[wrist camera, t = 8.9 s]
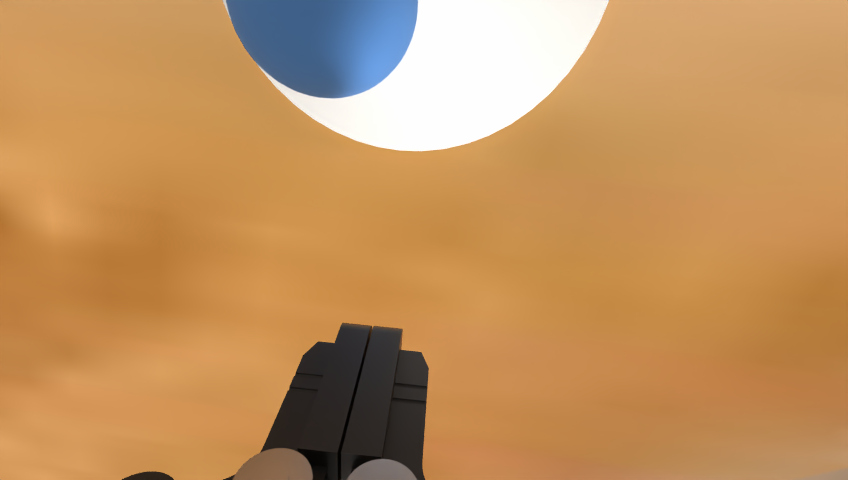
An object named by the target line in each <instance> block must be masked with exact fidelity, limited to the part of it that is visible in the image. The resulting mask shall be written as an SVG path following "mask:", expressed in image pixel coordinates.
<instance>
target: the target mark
mask: <svg viewBox="0 0 848 480" xmlns="http://www.w3.org/2000/svg"><path fill="white" fill-rule="evenodd" d="M608 1H609V0H418V13H417V21H416V26H415V30H414V34H413V37H412V40H411V42H410V45H409V47H408V49H407V51H406V53H405V55H404V57H403V58H402V60H401V62H400V63H399V64H398V66H397V67H396V68H395V69H394V70H393V71H392V72H391V73H390V75H389V76H388V77H386V78H385V79H384V80H383V81H382V82H380V83H379V84H378V85H376V86H375V87H373V88H371V89H369V90H367V91H365V92H362V93H360V94H357V95H353V96H349V97H344V98H334V99H332V98H318V97H313V96H309V95H305V94H302V93H299V92H297V91H294V90H292V89H290V88H288V87H286V86H285V85H283V84H281V83H279V82H278V81H277V80H275V79H274V78H272V77H271V76H270V75H269V74H267V73H266V72H265V71H264V70H263V69H262V68H261V67H260V66H259V65H258V64H257V65H258V66H259V67H260V69H261V70H262V71H263V72H264V73H265V75H266V76H267V77H268V78H269V79H270V81H271V82H272V83H273V84H274V85H275V87H277V88H278V89H279V90H280V91H281V92H282V93H283V94H284V95H285V96H286V97H287V98H288V99H289V100H290V101H291V102H292V103H293V104H294V105H296V106H297V107H298V108H300V109H301V110H302V111H304V112H305V113H306V114H308V115H309V116H310V117H311V118H313V119H314V120H316V121H318V122H319V123H321V124H323V125H325V126H326V127H328V128H330V129H331V130H333V131H335V132H337V133H340V134H342V135H344V136H347V137H349V138H351V139H353V140H356V141H359V142H363V143H366V144H370V145H373V146H376V147H382V148H388V149H394V150H405V151H427V150H438V149H446V148H450V147H455V146H459V145H463V144H467V143H470V142H473V141H475V140H478V139H481V138H484V137H486V136H489V135H491V134H493V133H495V132H497V131H498V130H500V129H502V128H504V127H506V126H508V125H510V124H512V123H513V122H514V121H516V120H517V119H519V118H520V117H522V116H523V115H525V114H526V113H528V112H529V111H530V110H532V109H533V108H534V107H535V106H536V105H537V104H538V103H540V102H541V101H542V100H543V99H544V98H545V97H546V96H548V95H549V94H550V93H551V92H552V91H553V89H554V88H555V87H556V86H557V85H558V84H559V83H560V82H561V81H562V79H563V78H564V77H565V76H566V75H567V74H568V73H569V71H570V70H571V68H572V67H573V66H574V64H575V63H576V61H577V60H578V59H579V57H580V56H581V54H582V53H583V52H584V50H585V48H586V47H587V45H588V43H589V41H590V39H591V38H592V36H593V34H594V32H595V30H596V29H597V27H598V25H599V23H600V20H601V18H602V16H603V13H604V11H605V9H606V6H607V4H608ZM223 2H224V5H225V7H226V10H227V12H228V7H227V3H226V0H223ZM228 15H229V12H228ZM229 17H230V15H229ZM230 19H231V18H230Z"/></svg>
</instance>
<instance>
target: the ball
mask: <svg viewBox="0 0 848 480" xmlns="http://www.w3.org/2000/svg"><path fill="white" fill-rule="evenodd" d="M226 3H227V7H228V12H229V15H230V18H231V21H232V24H233V26H234V29H235V31H236V33H237V35H238V37H239V38H240V40H241V42H242V44H243V46H244V47H245V49H246V50H247V52H248V53H249V54H250V56H251V57H252V58H253V59H254V61H255V62H256V63H257V64H258V65H259V66H260V67H261V68H262V69H263V70H264V71H265V72H266V73H267V74H269V75H270V76H271V77H272V78H274V79H275V80H277V81H278V82H279V83H281V84H283V85H285V86H286V87H288V88H290V89H292V90H294V91H297V92H299V93H302V94H305V95H309V96H313V97H318V98H332V99H334V98H344V97H349V96H353V95H357V94H360V93H362V92H365V91H367V90H369V89H371V88H373V87H375V86H376V85H378V84H379V83H380V82H382V81H383V80H384V79H385V78H386V77H388V76H389V75H390V73H391V72H392V71H393V70H394V69H395V68H396V67H397V66H398V64H399V63H400V62H401V60H402V58H403V57H404V55H405V53H406V51H407V49H408V47H409V45H410V42H411V40H412V37H413V34H414V30H415V26H416V21H417V13H418V0H226Z"/></svg>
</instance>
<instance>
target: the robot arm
mask: <svg viewBox="0 0 848 480" xmlns="http://www.w3.org/2000/svg"><path fill="white" fill-rule="evenodd" d="M402 331H403V330H402V329H399V328H389V327H379V326H374V327H373V329H372V326H368V325H359V324H349V323H342V325H341V327H340V330H339V332H338V335H337V338H336V341H335V343H327V342H317V343H316V344H315V345H314V346H313V347H312V348H311V349H310V350H309V351H307V352H306V353H305V354H304V355H303V357H302V359H301V362H300V364H299V366H298V369H297V371H296V375H295V376H294V378H293V380H292V382H291V385H290V388H289V391H288V392H287V394H286V396H285V398H284V401H283V403H282V405H281V408H280V410H279V412H278V415H277V417H276V419H275V421H274V424H273V426H272V428H271V431H270V433H269V435H268V438H267V440H266V442H265V444H264V446H263V448H262V450H261V452H260V453H259V454H257V455H255V456H253V457H252V458H250V459H249V460H248V461H247V462H245V463H244V464H243V465H242V466H241V468H240V469H239V470H238V472H237V473H236V474H235V475H233V476H231V477H229V478H226V479H224V480H425V478H424V475H423V469H422V458H423V443H424V429H425V414H426V399H427V384H428V370H429V368H428V366H427V364H426V362H425V359H424V357H423V355H422V353H421V352H415V351H405V350H401V345H402ZM122 480H174V479H173V478H172V477H170V476H169V475H167V474H164V473H161V472H142V473H138V474H134V475H131V476H129V477H126V478H124V479H122Z"/></svg>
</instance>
